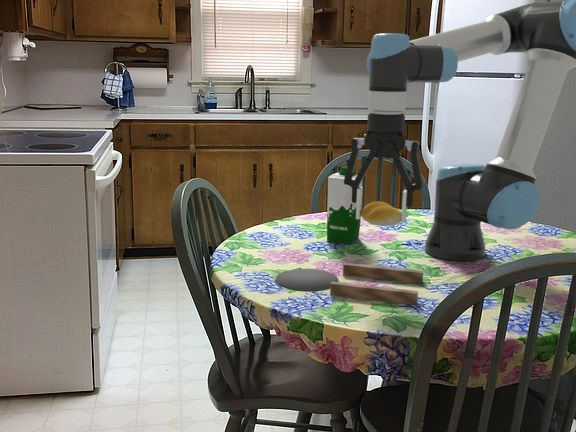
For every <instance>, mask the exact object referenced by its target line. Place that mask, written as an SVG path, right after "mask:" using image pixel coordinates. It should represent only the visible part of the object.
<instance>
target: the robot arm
mask: <svg viewBox="0 0 576 432" xmlns="http://www.w3.org/2000/svg"><path fill="white" fill-rule="evenodd" d="M508 53H525V55H526V56H527V58H528V60H529V64H528V66H527V69H526V71H525V75H524V77H523V81H522V84H521V86H520V89H519V92H518V95H517V97H516V100H515V102H514V105H513V109H512V112H511V114H510V117H509V119H508V122H507V125H506V128H505V131H504V133H503V136H502V139H501V142H500V145H499V148H498V150H497V153H496V156H495V158H494V159H492V160H490V161H488V162H487V163H486V165H484V164H473V163H472V164H470V163H469V164H467V163H466V164H450V165H443V166H441V167H440V168H439V169H438V171H437V176H436V181H435V197H434V198H435V199H434V213H433V214H434V215H433V216H434V217H433V223H432V226H431V228H430V230H429V232H428V235H427V237H426V240H425V242H424V243H425V245H424V252H425V253H427V254H428V255H430V256H431V257H435V258H438V259H441V260H448V261H457V262H470V261H478V260H481V259H483V258H485V256H486V242H485V240H484V235H483V230H482V228H481V223H484V224H487V225H490V226H492V227H495V228H497V229H500V228H501V229H505V230H517V229H519V228H521V227H522V226H524V225H526V224H528V223H529V222H530V221H531V220H532V219H533V217H534V216H535V214H536V212H537V210H538V208H539V204H540V197H539V195H540V193H539V189H538V188H537V186H536V185H535V183H536V180H537V177H536V175H535V172H534V171H533V170H534V169H533V168H534V166H535V163H536V159H537V156H538V154H539V151H540V149H541V147H542V143H543V140H544V138H545V135H546V132H547V129H548V127H549V123H550V121H551V118H552V116H553V113H554V110H555V108H556V104H557V102H558V99H559V96H560V94H561V91H562V88H563V85H564V82H565V79H566V77H567V74H568V71H570V70H572V69H574V68H575V67H576V0H559V1H558V0H556V1H555V0H554V1H544V2H543V1H542V2H531V3H527V4H524V5H520V6H518V7H514V8H510V9H508V10H505V11H502V12H499V13H495V14H492V15H489V16H487V17H486V19H484V20H483V21H481V22H477V23H474V24H470V25H466V26H463V27H459V28H455V29H451V30H447V31H442V32H438V33H435V34H432V35H428V36H423V37H420V38H416V39H411V40H410V36H409V35H408V34H406V33H376V34H374V35H373V37H372V39H371V45H370V52H369V54H368V55H367V58H366V68H367V71H368V73H369V82H368V84H369V87H368V88H369V89H368V101H367V102H368V104H367V105H368V107H367V109H368V111H370V112H369V113H368V114H367V125H366V127H367V128H366V129H367V130H366V135H365V137H361V138H359V137H354V138H352V140H351V152H350V156H349V160H348V162H347V166H348V167H347V171H346V175H345V178H344V184H345V185H349V186H351V187H352V203H356V219H360V218H361V219H362V217H361V211H362V209H363V208H362V207H363V194H364V193H363V189H364V187H363V186H362V187H359V185H360V183H361V181H362V182H363V179H364V177H365V176H366V173H367V172H368V170H369V169H370V167H371V165H372V163H373V161H374V160H375V158H376V159H381V158H382V159H383V158H384V159H392V161H393V163H394V164H395V166H396V168H397V171H398V173H399V175H400V178H401V180H402V183H403V184H404V187H405V189H404V190H403V191H402V202H401V203H402V204H401V213H402V217H401V222H400V223H401V224H405V223H406V221H407V212H408V208H411V207H412V205H413V199H414V192H415V191H418V190H422V188H423V180H422V179H423V178H422V173H421V167H420V160H419V154H418V153H419V152H418V150H419V146H420V145H419V144H420V141H418V140H408V139H407V138H406V137H405V136H406V135H405V125H406V124H405V123H406V122H405V121H406V115H405V113H403V112H405V111H406V103H407V91H408V90H407V89H408V88H407V87H408V83H425V84H427V83H428V84H430V83H434V84H440V83H447V82H449V81H451V80H452V79H453V78H454V77H455V75H456V73H457V71H458V65H459V62H462V61H466V60H470V59H473V58H477V57H479V56H484V55H488V54H492V55H494V56H500V55H503V54H508ZM364 144H365V145H366V147H367V149H368V150H369V153H368V155H367V157H366V159H365V161H364V162H363V164H362V165H361V168H360V169H359V171H358V173H357V174H358V175H357V177H356V178H355V180H353V179H352V176H353V173H354V169H355V170H356V164H357V160H358V156H359V154H360V149H362V148H363V145H364ZM404 146H405V147H406V148H407V151H408V152H410V161H411V166H412V172H413V179H414V183H413V182H412V180H411V177H410V176H409V173H408V170H407V168H406V165H405V163H404V161H403V159H402V158H403V157H402V155H401V153H400V152H401V150H402V149H403V148H404Z"/></svg>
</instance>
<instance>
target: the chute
mask: <svg viewBox="0 0 576 432" xmlns="http://www.w3.org/2000/svg"><path fill="white" fill-rule="evenodd" d="M342 265H343V266H342V267H343V268H342V275H343V276H350V277H357V278H358V277H360V278H365V279H368V278H369V279H375V280H376V279H378V280H386V281H395V282H402V283H403V282H404V283H414V284H419V285H420V284H423V282H424V281H423V280H424V272H425V271H424V270H417V269H408V268H407V269H406V268H399V267H389V266H380V265H379V266H378V265H369V264H359V263H351V262H350V263H349V262H344V263H343V264H342ZM329 289H330V290H329V295H330V296H334V297H335V296H337V297H344V298H345V297H346V298H354V299H363V300H368V301H369V300H370V301H378V302H385V303H386V302H387V303H393V304H395V303H396V304H404V305H410V304H411V305H412V306H417V305H418V298H419V297H418V296H419V291H418V290H413V289H412V290H410V289H403V288H402V289H401V288H393V287H386V286H385V287H384V286H377V285H375V286H374V285H366V284H358V283H357V284H356V283H350V282H340V281H338V282H333V281H332V282H331V284H330V288H329ZM411 305H410V306H411Z"/></svg>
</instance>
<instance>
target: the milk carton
mask: <svg viewBox="0 0 576 432" xmlns="http://www.w3.org/2000/svg"><path fill="white" fill-rule="evenodd" d="M347 167H348V165H341V166H340V170H339V172H336V173H333V174H330V176H328V177H327V209H326V210H327V212H326V242H328V243H338V244H343V245H344V244H345V245H352V244H354V243H355V242H356V241H357V240H358V239H359V236H360V230H361V221H362V220H361V219H362V217H361V218H360V219H356V203H352V187H351V186H349V185H345V184H344V178H345V175H346V171H347ZM357 175H358V173H356V168H355V169H354V173H353V176H352V179H353V180H355V178H356V177H357ZM359 187H363V180H362V181H361V183H360V185H359Z"/></svg>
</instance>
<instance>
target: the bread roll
mask: <svg viewBox="0 0 576 432" xmlns="http://www.w3.org/2000/svg"><path fill="white" fill-rule="evenodd" d="M401 217H402V210H400V209H399V208H396V207H393V206H392V205H390V204H389V203H387V202H384V201H378V200H377V201H372V202H370V203H368V204H366V205H365V206H364V207H363V208H362V211H361V219H362V220H363V221H364V222H367V223H368V224H370V225H373V226H381V227H382V226H383V227H391V226H396V225H399V224H400V223H401Z"/></svg>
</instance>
